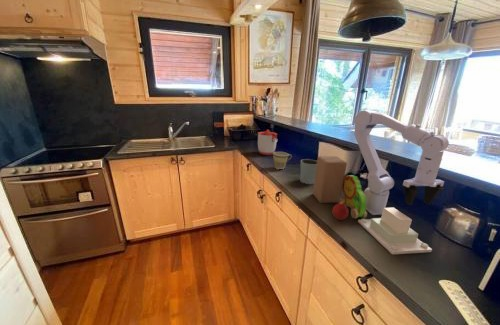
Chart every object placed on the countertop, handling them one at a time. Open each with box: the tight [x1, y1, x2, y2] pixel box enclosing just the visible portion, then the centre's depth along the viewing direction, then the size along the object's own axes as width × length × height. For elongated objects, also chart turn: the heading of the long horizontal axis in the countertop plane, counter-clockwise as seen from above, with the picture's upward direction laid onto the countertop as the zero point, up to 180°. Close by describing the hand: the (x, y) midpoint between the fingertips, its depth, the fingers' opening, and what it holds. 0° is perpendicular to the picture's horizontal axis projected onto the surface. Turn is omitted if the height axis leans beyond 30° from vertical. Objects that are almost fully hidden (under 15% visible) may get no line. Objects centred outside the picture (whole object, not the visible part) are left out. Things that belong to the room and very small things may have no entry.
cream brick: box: [380, 207, 413, 233], centre depth 74 cm, size 8×4×5 cm, turn 7°
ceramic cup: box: [272, 151, 293, 170], centre depth 141 cm, size 13×10×10 cm
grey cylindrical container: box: [299, 158, 317, 185], centre depth 120 cm, size 10×10×12 cm
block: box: [312, 155, 347, 204], centre depth 99 cm, size 10×10×20 cm
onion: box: [332, 202, 349, 221], centre depth 84 cm, size 6×6×8 cm
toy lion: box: [338, 174, 368, 219], centre depth 90 cm, size 16×5×15 cm, turn 5°
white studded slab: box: [357, 217, 433, 255], centre depth 76 cm, size 18×14×4 cm
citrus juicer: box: [257, 129, 278, 156], centre depth 172 cm, size 16×17×20 cm
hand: (417, 203), depth 79 cm, fingers open, 7 cm apart
